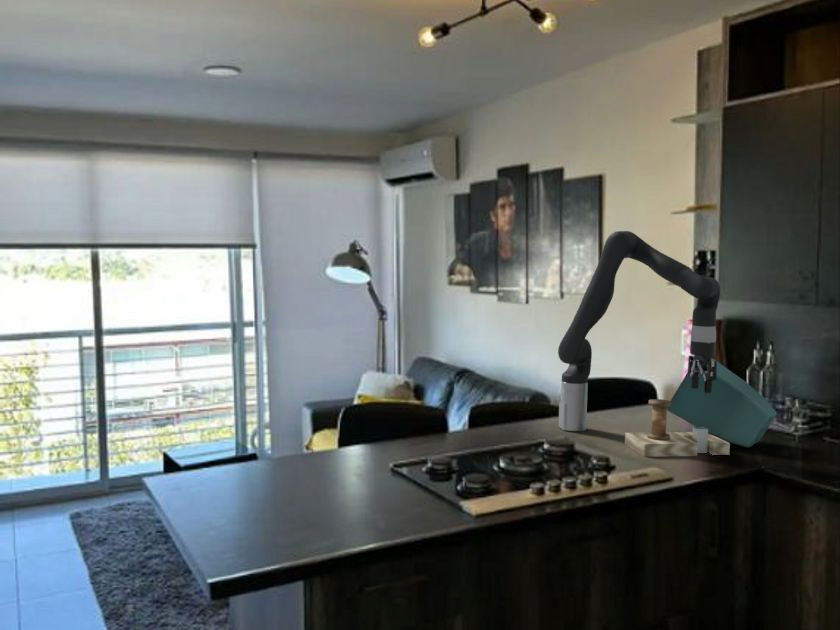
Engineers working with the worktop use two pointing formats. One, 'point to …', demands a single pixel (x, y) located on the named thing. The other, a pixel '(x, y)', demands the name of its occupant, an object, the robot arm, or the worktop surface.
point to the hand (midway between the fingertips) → (700, 390)
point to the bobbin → (659, 419)
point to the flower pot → (724, 408)
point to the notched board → (673, 445)
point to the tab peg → (700, 438)
